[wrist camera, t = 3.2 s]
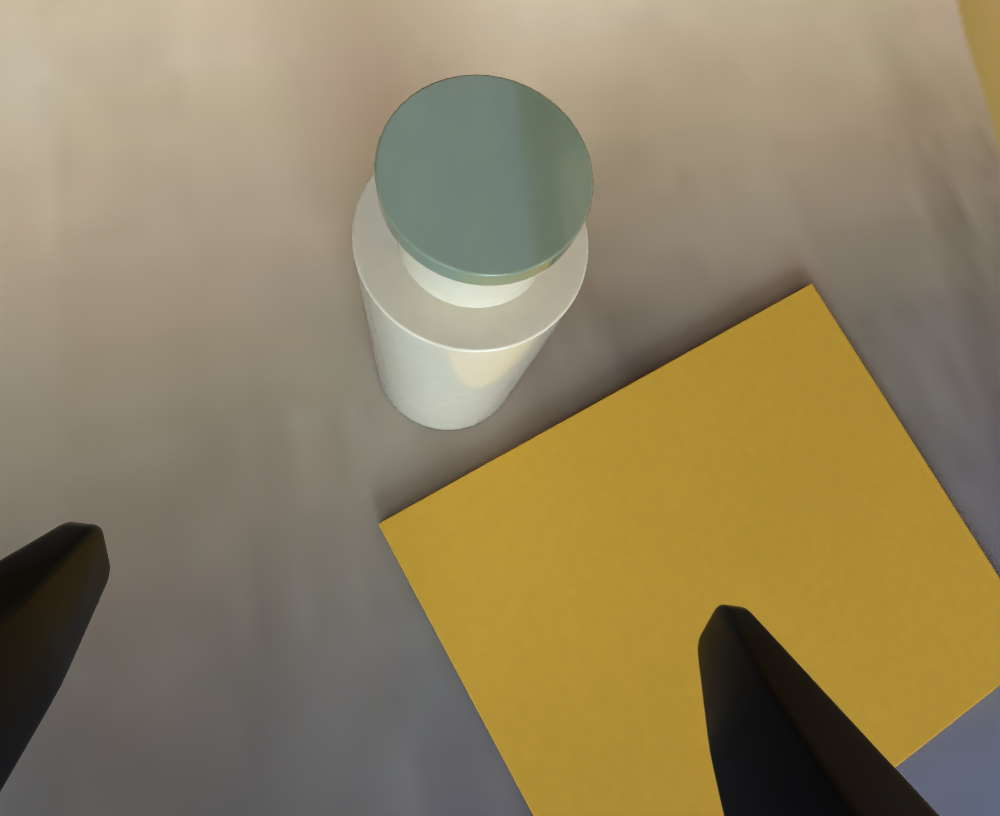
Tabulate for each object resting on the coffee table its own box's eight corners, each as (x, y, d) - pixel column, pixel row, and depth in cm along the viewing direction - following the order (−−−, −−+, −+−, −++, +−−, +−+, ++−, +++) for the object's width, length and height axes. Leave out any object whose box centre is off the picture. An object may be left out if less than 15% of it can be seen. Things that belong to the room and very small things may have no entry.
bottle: (419, 455, 22) (427, 361, 10) (352, 332, 23) (284, 105, 11) (541, 389, 24) (678, 234, 11) (474, 273, 24) (538, 6, 12)
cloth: (619, 976, 20) (622, 982, 20) (378, 523, 22) (378, 523, 22) (1038, 648, 24) (1045, 649, 24) (807, 286, 26) (811, 283, 26)
